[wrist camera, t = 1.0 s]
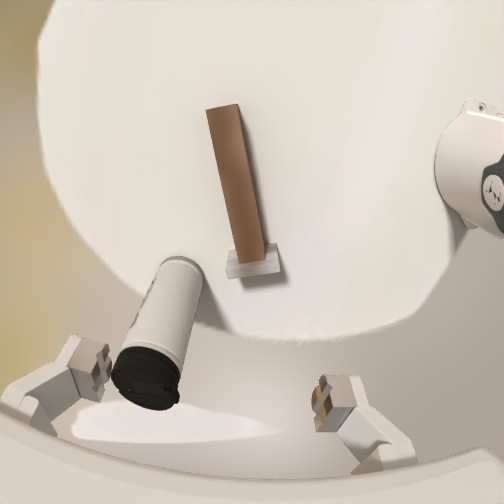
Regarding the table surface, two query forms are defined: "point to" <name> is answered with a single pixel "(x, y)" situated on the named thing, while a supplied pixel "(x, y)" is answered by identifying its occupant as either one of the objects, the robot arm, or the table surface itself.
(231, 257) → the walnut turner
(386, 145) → the table surface
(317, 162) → the table surface
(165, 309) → the travel mug
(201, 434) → the table surface
